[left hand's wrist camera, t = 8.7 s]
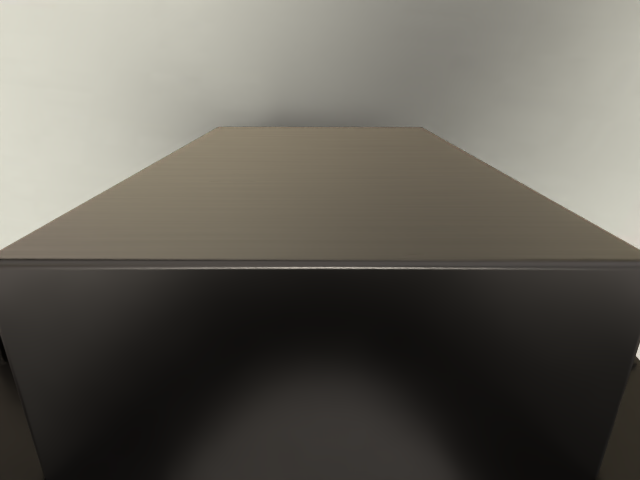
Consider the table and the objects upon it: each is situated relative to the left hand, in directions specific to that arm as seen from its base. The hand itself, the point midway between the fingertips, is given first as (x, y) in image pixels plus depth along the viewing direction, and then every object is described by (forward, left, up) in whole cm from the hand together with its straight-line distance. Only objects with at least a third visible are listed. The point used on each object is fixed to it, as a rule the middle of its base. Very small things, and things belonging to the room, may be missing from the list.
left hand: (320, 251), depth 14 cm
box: (+3, +6, -1) cm, 7 cm away
